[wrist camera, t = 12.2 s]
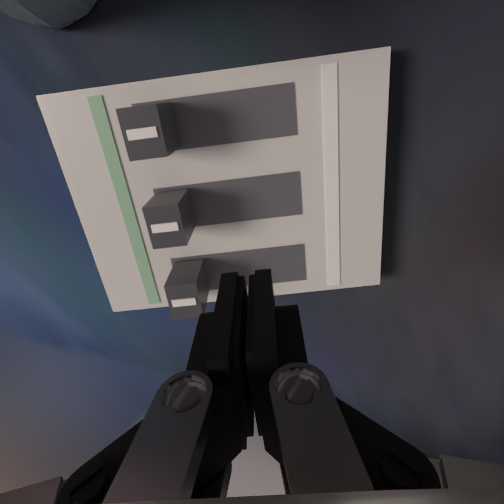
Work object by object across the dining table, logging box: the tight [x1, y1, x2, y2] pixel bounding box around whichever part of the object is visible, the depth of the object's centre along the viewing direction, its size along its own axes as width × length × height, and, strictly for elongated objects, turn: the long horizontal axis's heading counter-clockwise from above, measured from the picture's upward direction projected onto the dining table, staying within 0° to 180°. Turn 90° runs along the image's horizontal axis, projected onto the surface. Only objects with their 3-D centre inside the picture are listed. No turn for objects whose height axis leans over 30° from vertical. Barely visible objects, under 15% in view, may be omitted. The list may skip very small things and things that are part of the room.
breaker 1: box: [115, 102, 180, 161], centre depth 22 cm, size 2×3×4 cm
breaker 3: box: [164, 259, 210, 320], centre depth 27 cm, size 2×3×4 cm
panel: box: [36, 46, 391, 312], centre depth 27 cm, size 24×18×2 cm
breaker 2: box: [142, 188, 196, 249], centre depth 24 cm, size 2×3×4 cm
